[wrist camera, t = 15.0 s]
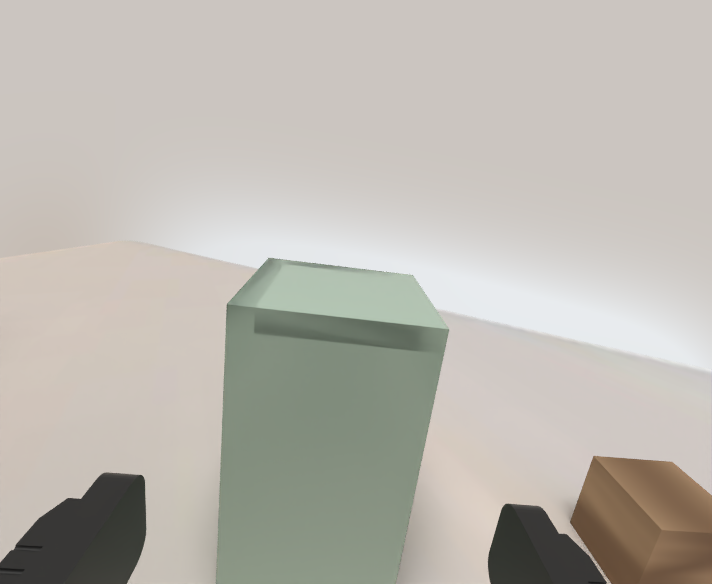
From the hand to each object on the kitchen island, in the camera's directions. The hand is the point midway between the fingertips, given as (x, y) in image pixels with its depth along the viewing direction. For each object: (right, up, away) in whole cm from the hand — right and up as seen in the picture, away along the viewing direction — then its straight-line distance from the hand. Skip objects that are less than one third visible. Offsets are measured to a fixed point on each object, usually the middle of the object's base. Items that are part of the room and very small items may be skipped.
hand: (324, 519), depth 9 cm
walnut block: (+13, -7, +9) cm, 18 cm away
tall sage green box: (-1, -5, +9) cm, 10 cm away
